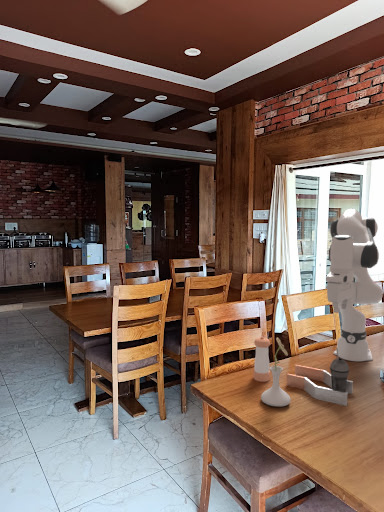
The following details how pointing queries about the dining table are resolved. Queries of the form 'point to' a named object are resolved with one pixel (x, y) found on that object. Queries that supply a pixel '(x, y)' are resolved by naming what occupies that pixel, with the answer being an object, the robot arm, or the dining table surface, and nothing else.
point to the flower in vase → (276, 385)
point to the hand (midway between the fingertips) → (340, 310)
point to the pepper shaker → (261, 360)
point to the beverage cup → (339, 373)
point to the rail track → (316, 391)
